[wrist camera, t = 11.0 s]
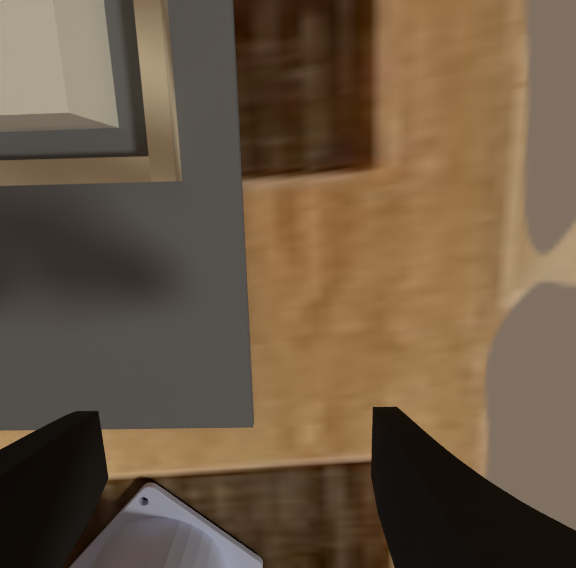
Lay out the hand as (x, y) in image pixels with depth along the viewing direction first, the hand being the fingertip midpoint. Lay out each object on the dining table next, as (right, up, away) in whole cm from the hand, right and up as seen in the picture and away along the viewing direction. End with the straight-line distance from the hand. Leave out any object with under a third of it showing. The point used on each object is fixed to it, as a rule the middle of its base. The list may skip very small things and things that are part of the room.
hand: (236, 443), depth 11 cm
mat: (-8, +10, +7) cm, 15 cm away
